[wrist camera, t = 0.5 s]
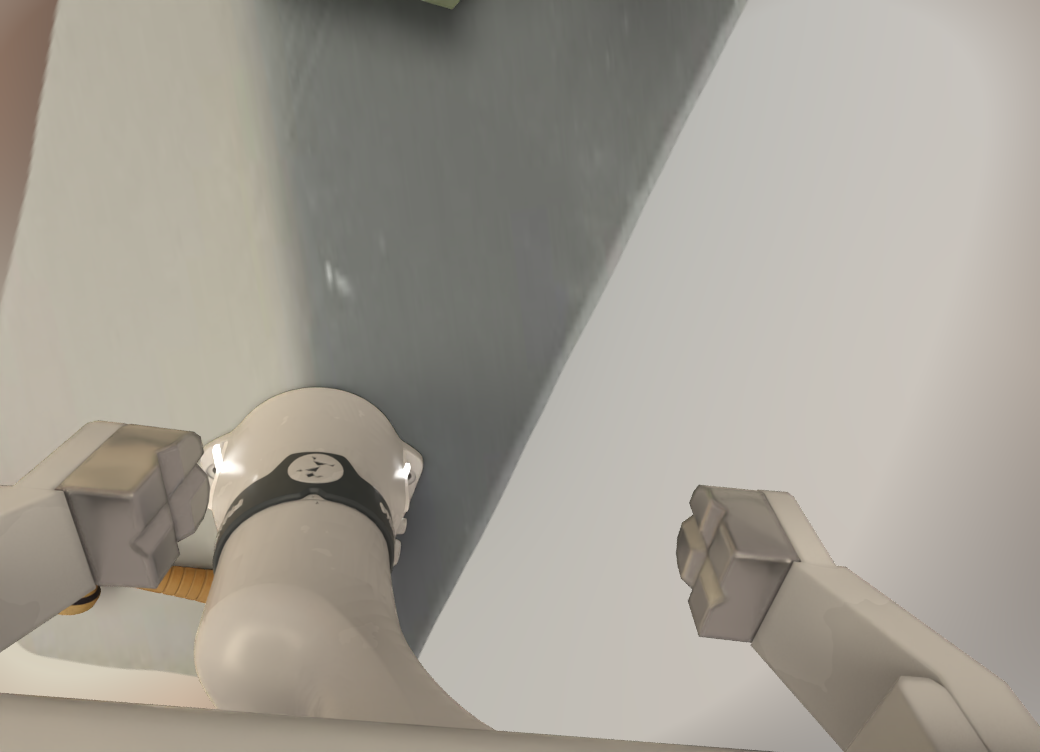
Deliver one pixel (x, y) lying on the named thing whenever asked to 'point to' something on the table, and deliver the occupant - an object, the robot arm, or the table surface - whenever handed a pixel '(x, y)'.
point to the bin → (443, 3)
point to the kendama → (161, 588)
